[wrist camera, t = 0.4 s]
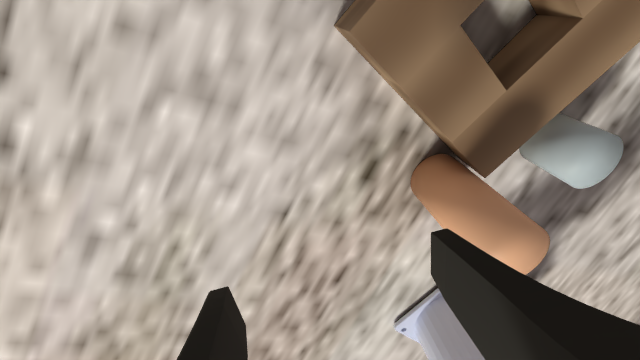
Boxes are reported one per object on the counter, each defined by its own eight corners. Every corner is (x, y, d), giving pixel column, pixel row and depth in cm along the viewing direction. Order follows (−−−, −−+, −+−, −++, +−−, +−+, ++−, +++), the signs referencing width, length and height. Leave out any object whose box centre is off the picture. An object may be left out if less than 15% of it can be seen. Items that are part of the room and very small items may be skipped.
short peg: (574, 133, 24) (631, 157, 20) (532, 169, 24) (579, 198, 21) (554, 101, 22) (612, 121, 18) (510, 141, 23) (557, 167, 19)
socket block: (615, 10, 20) (671, 13, 17) (457, 157, 22) (485, 178, 20) (527, -206, 14) (590, -250, 11) (333, 25, 17) (349, 31, 14)
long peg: (468, 173, 23) (560, 248, 17) (430, 207, 24) (502, 292, 17) (440, 143, 22) (530, 213, 15) (400, 182, 23) (467, 264, 16)
